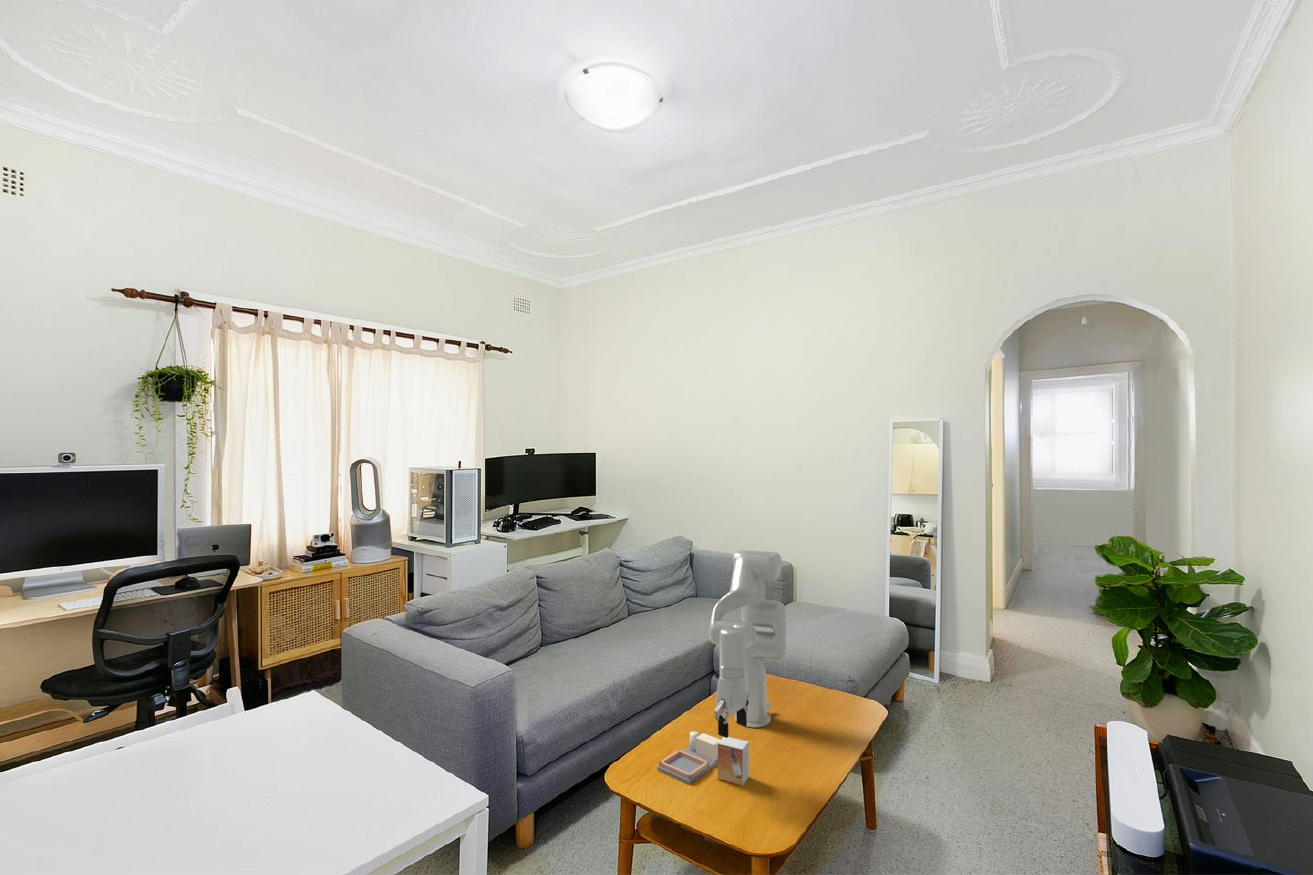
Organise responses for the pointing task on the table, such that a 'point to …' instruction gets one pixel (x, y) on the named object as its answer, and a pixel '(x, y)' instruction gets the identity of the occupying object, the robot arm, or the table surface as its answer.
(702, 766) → the assembly board
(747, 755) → the small box
